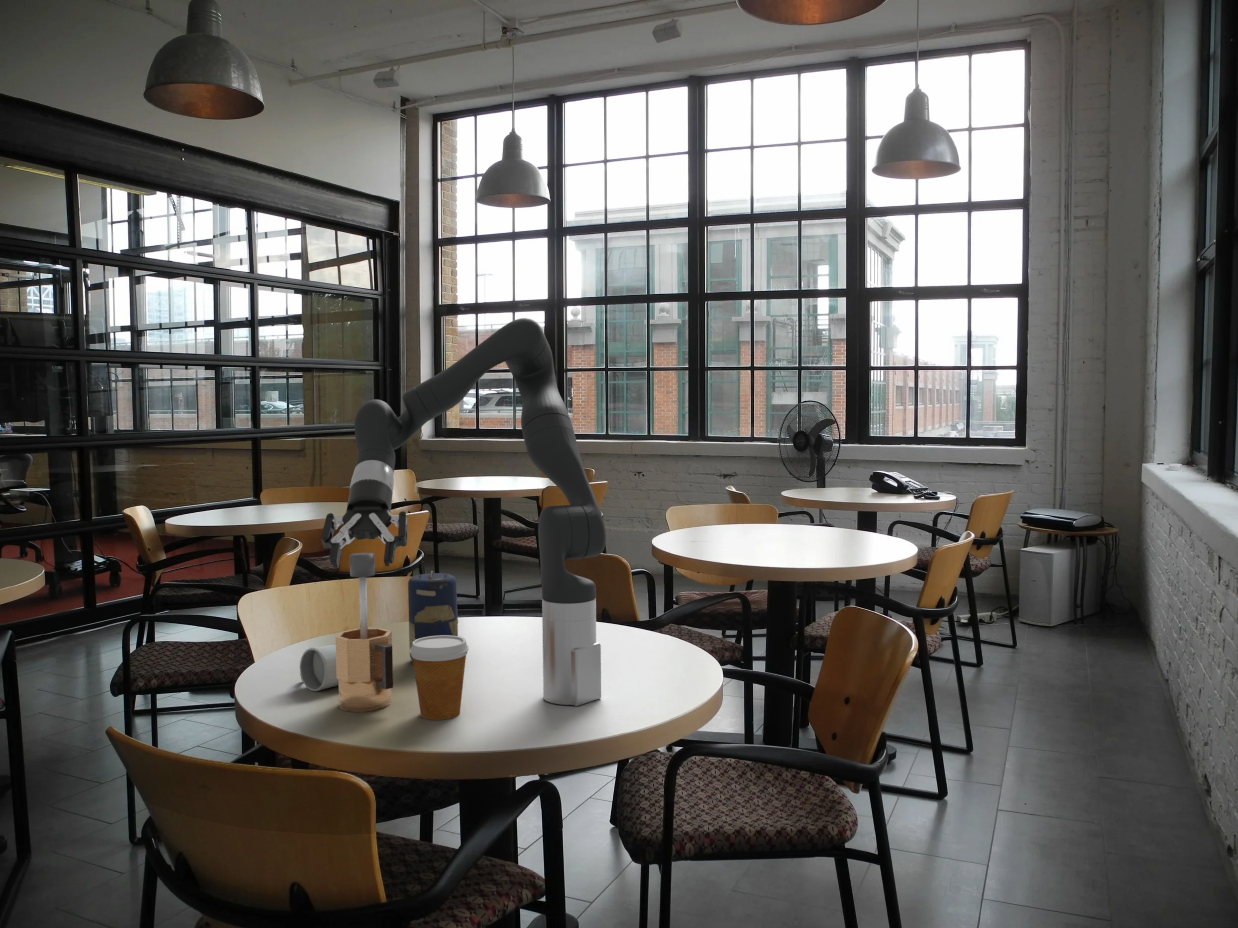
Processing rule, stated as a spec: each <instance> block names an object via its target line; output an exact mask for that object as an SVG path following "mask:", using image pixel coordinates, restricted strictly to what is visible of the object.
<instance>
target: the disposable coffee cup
mask: <svg viewBox="0 0 1238 928" xmlns="http://www.w3.org/2000/svg"><path fill="white" fill-rule="evenodd" d="M467 644H468V643H467V639H466V638H465V637H462V636H459V635H458V636H451V635H440V636H429V637H423V638H419V639H417V640H415V641H413V644H412V648H411V649H410V648H409V655H410V654H411V656H412V658H413V660H412V663H413V664H412V665H413V669H414V677H415V678H414V679H415V683H416V685H415V686H416V690H417V691H416V692H417V697H418V705H419V712H420V716H421V717H422V718H423V719H426V720H433V721H437V720H438V721H440V720H443V721H444V720H449V719H452V718H455V717H457V716H459V715H460V713H461V708H462V707H461V705H462V695H463V688H464V679H465V668H466V660H467V655H468V652H469V649H470V647H469V645H467Z"/></svg>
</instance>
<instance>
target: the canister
mask: <svg viewBox="0 0 1238 928" xmlns="http://www.w3.org/2000/svg"><path fill="white" fill-rule="evenodd" d="M457 588H458V587H457V578H456V576H454V575H452V574H449V573H441V572H440V573H439V572H438V573H437V572H436V573H435V572H434V571H433V570H430V573H421V574H416V575H414V576H411V577H410V578H409V580H408V582H407V593H408V594H407V595H408V599H407V601H408V603H407V604H408V639H409V640H408V641H409V645H408V646H409V650H410V649H411V648H412V644H413V641H415V640H417V639H419V638H423V637H429V636H440V635H451V636H459V629H458V628H459V627H458V626H459V625H458V624H459V618H458V596H457V595H458V589H457ZM409 658H410V659H411V660H412V661H413V658H412V656H411V654H410V653H409Z"/></svg>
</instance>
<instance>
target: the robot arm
mask: <svg viewBox="0 0 1238 928" xmlns="http://www.w3.org/2000/svg"><path fill="white" fill-rule="evenodd" d="M546 337H547V336H546V335H545V333H544V331H543V328H542V326H541V325H540V324H539V322H537V321H535V320H534V319H532V318H527V317H522V318H518V319H515V320H512V321H510V322H508V323H506V324H505V325H503V326H502V327H501V328H498V330H496V331H495V332H494V333H492V334H491V335H489V337H487V338H486V339H485V340H483V341H482V342H481V343H479V344H477V345H476V346H475V347H474V348H472V349H471V350H470V351H468V352H467V353H466V354H465V355H464V356H462V357H461V358H460V359H459V360H456V362H455V363H453V364H451V365H450V366H449V367H448V368H446V369H444V370H443V371H440V372H439V373H437V374H435V375H434V376H432V377H430V378H428V379H426V380H425V381H423V382H421V383H419V384H417V385H415V386H414V387H412V388H410V389H408V390H406V391H405V392H404V393H403V394H402V401H403V405H404V408H405V410H404V411H403V412H402V413H401V414H400V416H397V415H396V414H395V412H394V410H393V409H392V407H391V406H390V405H389V404H388V403H387V402H385V401H383V400H381V399H371V400H367V401H366V402H364V403H363V404H362V405H361V407H359V409H358V410H357V412H356V415H355V418H354V437H355V445H356V451H357V454H356V459H355V465H354V470H353V474H352V476H351V481H350V483H349V494H348V498H347V499H348V500H347V505H346V511H345V513H344V514H343V515H342V516H337V515H336V516H335V515H334V514H333V513H332V512H331V513H328V514H326V516H325V519H324V520H325V521H324V524H323V529H322V532H321V536H320V540H321V542H322V546H323V548H324V549H326V550H327V549H330V550H329V555H328V559H329V562H330V565H331V566H332V567H333V568H334V569H339V568H340V567H339V566H340V561H341V558H342V557H341V555H342V549H343V548H344V547H345V546H346V545H350V544H351V543H352V542H353V541H354V540H355V539H356V541H357V540H359V541H361V540H364V539H365V540H366V539H368V540H376V538H378V539H380V541H381V542H382V543H383V544H384V554H383V564H384V567H390V565H391V564H393V563H394V561H395V558H396V557H395V556H396V555H395V554H396V550H397V549H398V547H403V548H404V547H406V546H407V544H408V521H409V520H408V517H407V512H405V511H404V510H403V511H402V510H401V511H400V512H399V513H398V514H395V515H394V514H393V515H392V514H391V509H392V502H393V494H394V486H395V479H394V474H395V465H396V453H395V450H397V449H399V448H400V447H401V446H403V445H405V443H406V442H407V441H409V439H410V438H411V437H413V436H414V434H415V433H417V432H418V431H419V430H420V429H421V428H422V427H423V426H424V425H425V424H426V423H428V422H429V421H431V420H433V419H435V418H437V417H439V416H440V415H442V414H444V413H446V412H448V411H449V410H451V409H452V408H454V407H455V406H457V405H458V404H459V403H460V402H462V400H463V399H464V398H465V397H466V396H467V395H468V394H469V392H470V391H471V390H472V389H473V387H474V386H475V385H476V383H477V382H478V381H479V380H480V379H481V378H482V377H483V376H484V375H485V374H486V373H488V372H489V371H490V370H492V369H493V368H494V367H497V366H498V365H500V364H502V363H505V365H506V366H507V368H508V370H509V372H510V374H511V375H512V377H513V379H514V381H515V384H516V386H517V388H518V393H519V395H520V399H521V405H522V409H521V416H520V418H521V419H520V426H521V427H520V428H521V432H522V437H523V441H524V445H525V450H526V452H527V456H528V457H529V459H530V461H531V462H532V464H533V465H534V466H535V467H536V468H537V469H538V470H539V471H540V472H541V473H542V474H543V475H544V476H545V477H547V479H548V480H550V481H551V482H552V483H553V484H554V485H555V486H556V487H557V488H558V489H559V490H560V491H561V492H562V494H563V495H564V496H565V498H566V500H567V502H568V504H564V505H563V504H562V505H561V504H560V505H549V506H546V507H544V508H543V509H542V510H541V512H540V514H539V518H538V525H537V526H538V531H537V532H538V533H537V534H538V547H539V560H540V561H539V562H540V583H541V596H542V597H541V598H542V599H541V601H542V602H541V607H542V609H541V610H542V611H541V612H542V619H541V620H542V624H541V625H542V690H543V691H542V695H543V700H544V701H546V702H548V703H550V704H556V705H565V706H566V705H568V706H569V705H571V706H576V707H577V706H578V707H579V706H581V705H583V704H584V705H585V704H587V703H590V702H593V701H595V700H599V699H602V663H601V662H602V656H601V655H602V650H601V649H602V646H601V643H600V642H597V601H596V600H597V588H596V587H597V586H596V583H595V581H593V580H592V579H589V578H586V577H584V576H579V575H576V574H574V573H572V572H570V571H568V569H566V565H565V560H575V559H587V558H588V559H589V558H595V557H598V556H600V555H601V554H602V553H603V551H604V550H605V547H606V542H607V541H606V540H607V535H606V527H605V521H604V517H603V515H602V511H601V509H600V507H599V504H598V502H597V499H596V496H595V493H594V492H593V488H592V487H591V484H590V481H589V478H588V477H587V474H586V471H585V468H584V465H583V461H582V457H581V453H580V450H579V446H578V442H577V437H576V434H575V430H574V427H573V424H572V421H571V417H570V414H569V411H568V409H567V407H566V405H565V402H564V400H563V398H562V397H561V395H560V392H559V389H558V384H557V379H556V373H555V365H554V358H553V353H552V352H553V351H552V349H551V346H550V344H549V341H548V340H547V338H546ZM392 524H394V526H395V527H396V528H397V535H395V536H394V535H393V534H392V533H391V532H390V531H389V529H388V528H389V527H390V526H391V525H392ZM341 525H343V526H342V527H340V529H339V531H338V533H336V535H334V534H335V531H336V530H338V528H339V526H341Z"/></svg>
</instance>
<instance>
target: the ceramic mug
mask: <svg viewBox="0 0 1238 928" xmlns="http://www.w3.org/2000/svg"><path fill="white" fill-rule="evenodd" d="M299 674H300V679H301V682H303V684H304V685H305V687H306V688H307V689H308V690H309V691H312V692H319V691H322V690H326V689H330V688H332V687H337V686H339V685H338V679H337V676H336V643H335V644H330V645H329V644H328V645H322V646H315V647H309V648H307V649H306V650H305V651H304V652H303V654H302V655H301V658H300V661H299Z"/></svg>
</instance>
